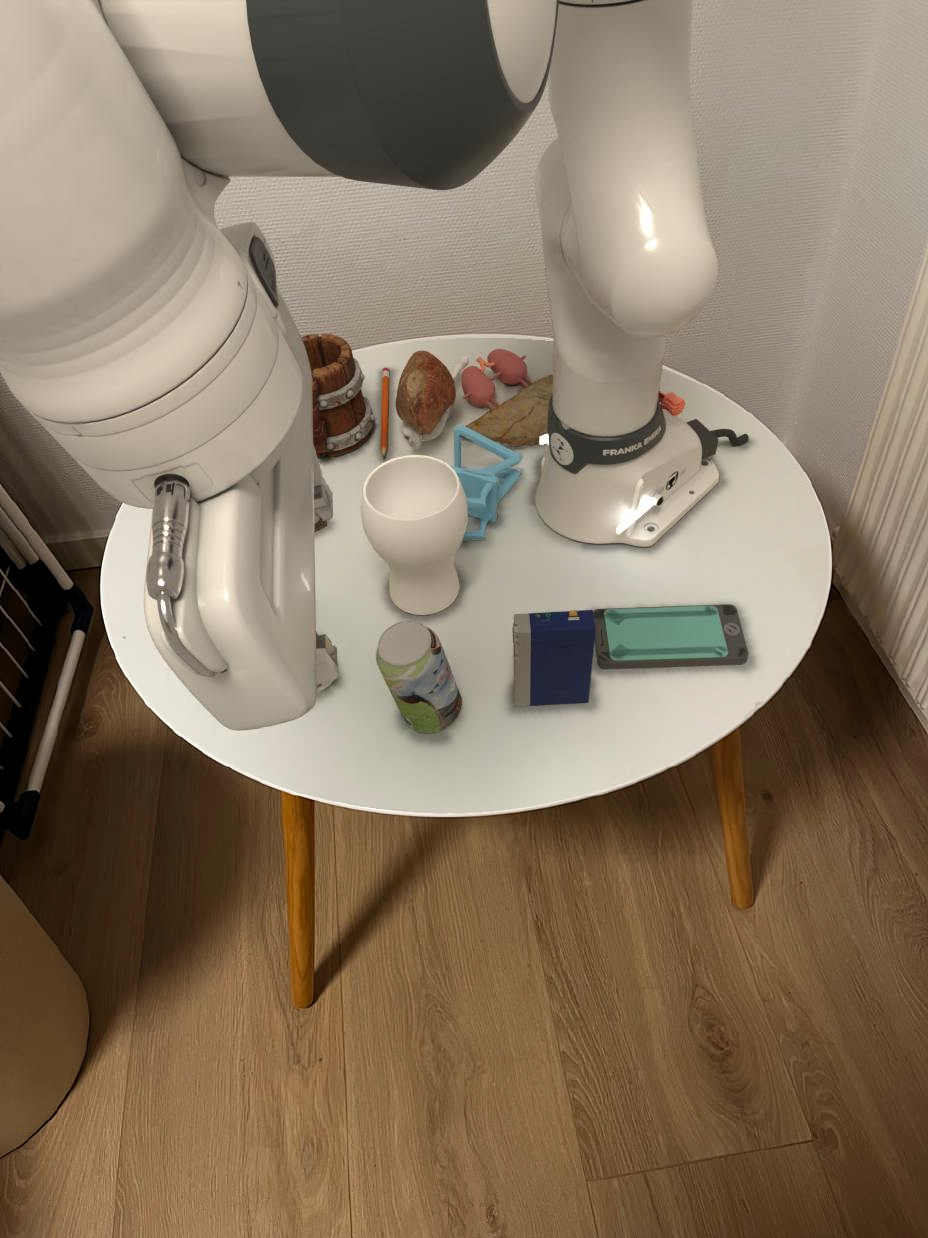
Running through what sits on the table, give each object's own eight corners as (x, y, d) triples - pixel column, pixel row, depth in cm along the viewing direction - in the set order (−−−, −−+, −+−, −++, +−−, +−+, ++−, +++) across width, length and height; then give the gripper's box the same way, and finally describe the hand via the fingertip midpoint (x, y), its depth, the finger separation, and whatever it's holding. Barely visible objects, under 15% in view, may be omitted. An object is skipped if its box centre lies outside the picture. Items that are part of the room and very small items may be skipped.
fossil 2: (441, 343, 116) (485, 407, 116) (392, 383, 119) (435, 446, 119) (411, 334, 104) (460, 405, 104) (357, 379, 107) (405, 449, 107)
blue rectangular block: (586, 683, 90) (593, 606, 81) (589, 703, 89) (597, 626, 79) (512, 687, 90) (511, 611, 81) (514, 707, 89) (513, 631, 80)
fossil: (644, 398, 117) (642, 409, 118) (566, 359, 123) (565, 369, 124) (533, 475, 107) (533, 485, 108) (455, 427, 113) (456, 438, 115)
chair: (520, 488, 110) (488, 557, 103) (456, 472, 111) (420, 539, 104) (524, 439, 103) (490, 510, 97) (456, 423, 105) (418, 491, 98)
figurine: (468, 356, 120) (442, 434, 108) (471, 382, 123) (446, 461, 111) (417, 356, 122) (386, 434, 110) (421, 382, 125) (391, 460, 113)
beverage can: (470, 729, 88) (464, 654, 78) (397, 749, 86) (381, 676, 77) (452, 679, 91) (444, 602, 82) (382, 698, 90) (366, 622, 81)
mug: (381, 395, 121) (364, 307, 108) (373, 480, 114) (354, 397, 101) (295, 397, 122) (268, 310, 109) (282, 481, 115) (251, 399, 102)
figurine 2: (538, 385, 124) (504, 347, 124) (547, 371, 121) (512, 332, 121) (477, 427, 119) (442, 388, 119) (485, 414, 116) (448, 373, 116)
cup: (456, 634, 95) (446, 533, 83) (362, 615, 97) (340, 514, 86) (484, 562, 101) (479, 459, 90) (395, 546, 104) (379, 443, 92)
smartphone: (750, 657, 90) (599, 662, 90) (747, 664, 91) (598, 669, 91) (735, 601, 94) (591, 606, 95) (733, 608, 95) (591, 613, 96)
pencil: (382, 372, 125) (389, 372, 125) (380, 462, 113) (387, 461, 113) (382, 367, 125) (388, 367, 125) (379, 456, 113) (386, 456, 113)
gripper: (244, 602, 27) (394, 769, 38) (259, 197, 38) (372, 422, 49) (56, 648, 28) (257, 797, 39) (124, 241, 39) (265, 451, 50)
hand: (321, 586), depth 44 cm, fingers open, 8 cm apart
